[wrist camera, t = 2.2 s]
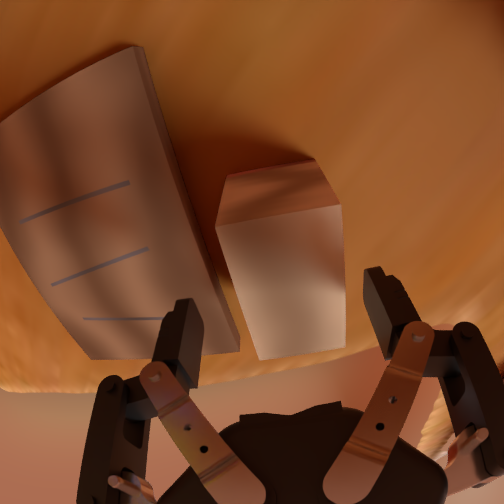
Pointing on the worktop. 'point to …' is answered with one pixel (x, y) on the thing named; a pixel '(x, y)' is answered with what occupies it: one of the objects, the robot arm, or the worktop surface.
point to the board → (107, 212)
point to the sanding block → (285, 257)
